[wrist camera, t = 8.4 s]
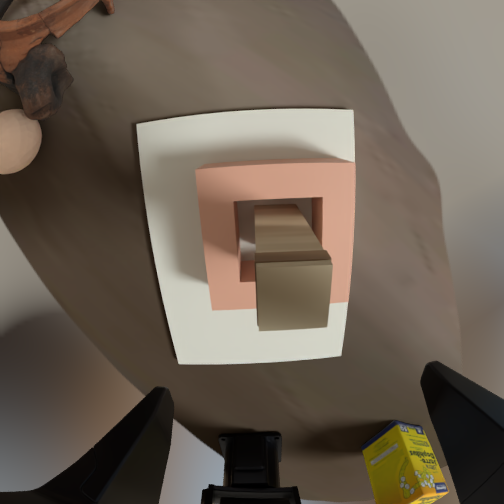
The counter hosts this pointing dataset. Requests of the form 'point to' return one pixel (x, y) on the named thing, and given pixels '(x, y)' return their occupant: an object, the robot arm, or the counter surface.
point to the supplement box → (403, 466)
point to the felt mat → (189, 226)
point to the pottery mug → (39, 55)
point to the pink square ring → (273, 187)
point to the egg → (17, 140)
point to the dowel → (289, 271)
